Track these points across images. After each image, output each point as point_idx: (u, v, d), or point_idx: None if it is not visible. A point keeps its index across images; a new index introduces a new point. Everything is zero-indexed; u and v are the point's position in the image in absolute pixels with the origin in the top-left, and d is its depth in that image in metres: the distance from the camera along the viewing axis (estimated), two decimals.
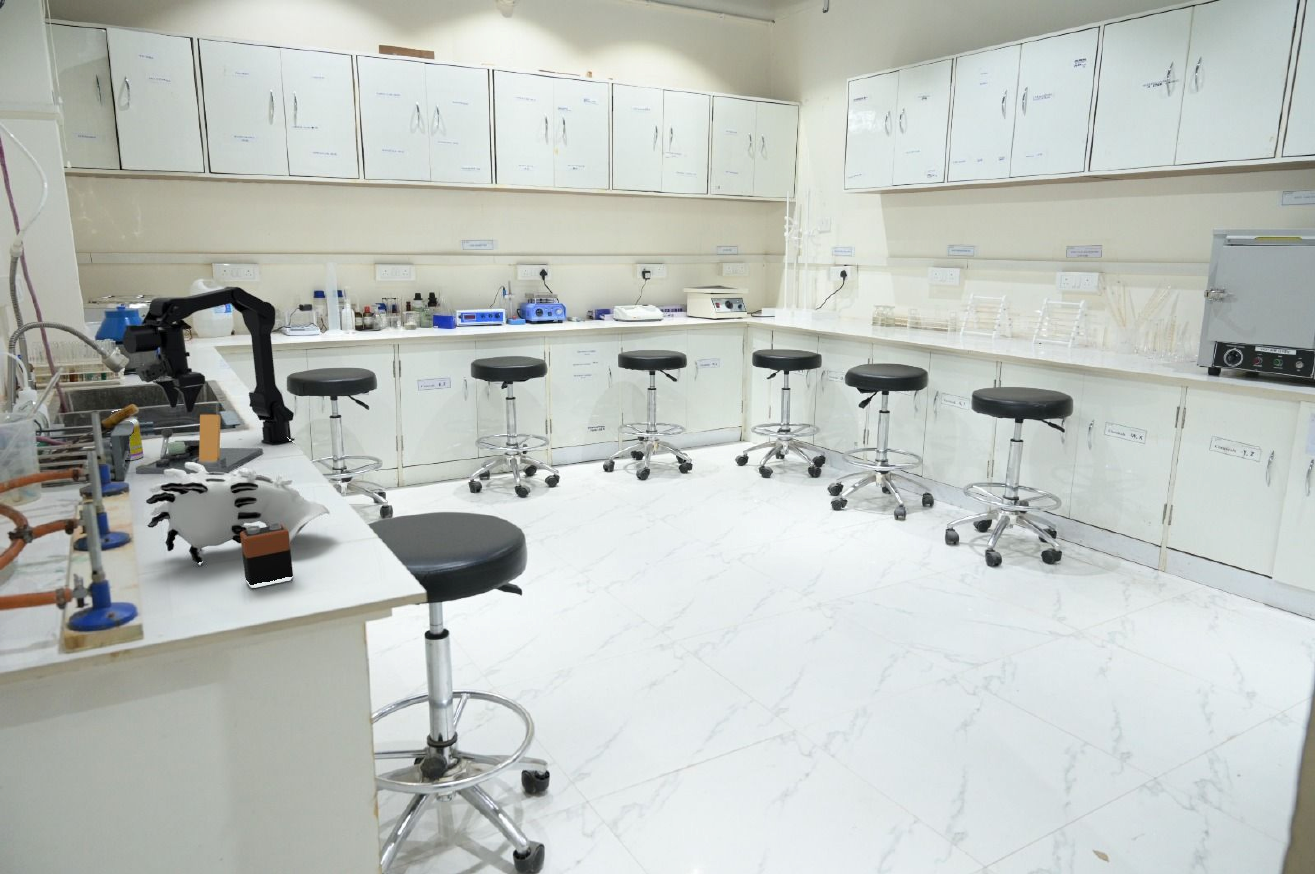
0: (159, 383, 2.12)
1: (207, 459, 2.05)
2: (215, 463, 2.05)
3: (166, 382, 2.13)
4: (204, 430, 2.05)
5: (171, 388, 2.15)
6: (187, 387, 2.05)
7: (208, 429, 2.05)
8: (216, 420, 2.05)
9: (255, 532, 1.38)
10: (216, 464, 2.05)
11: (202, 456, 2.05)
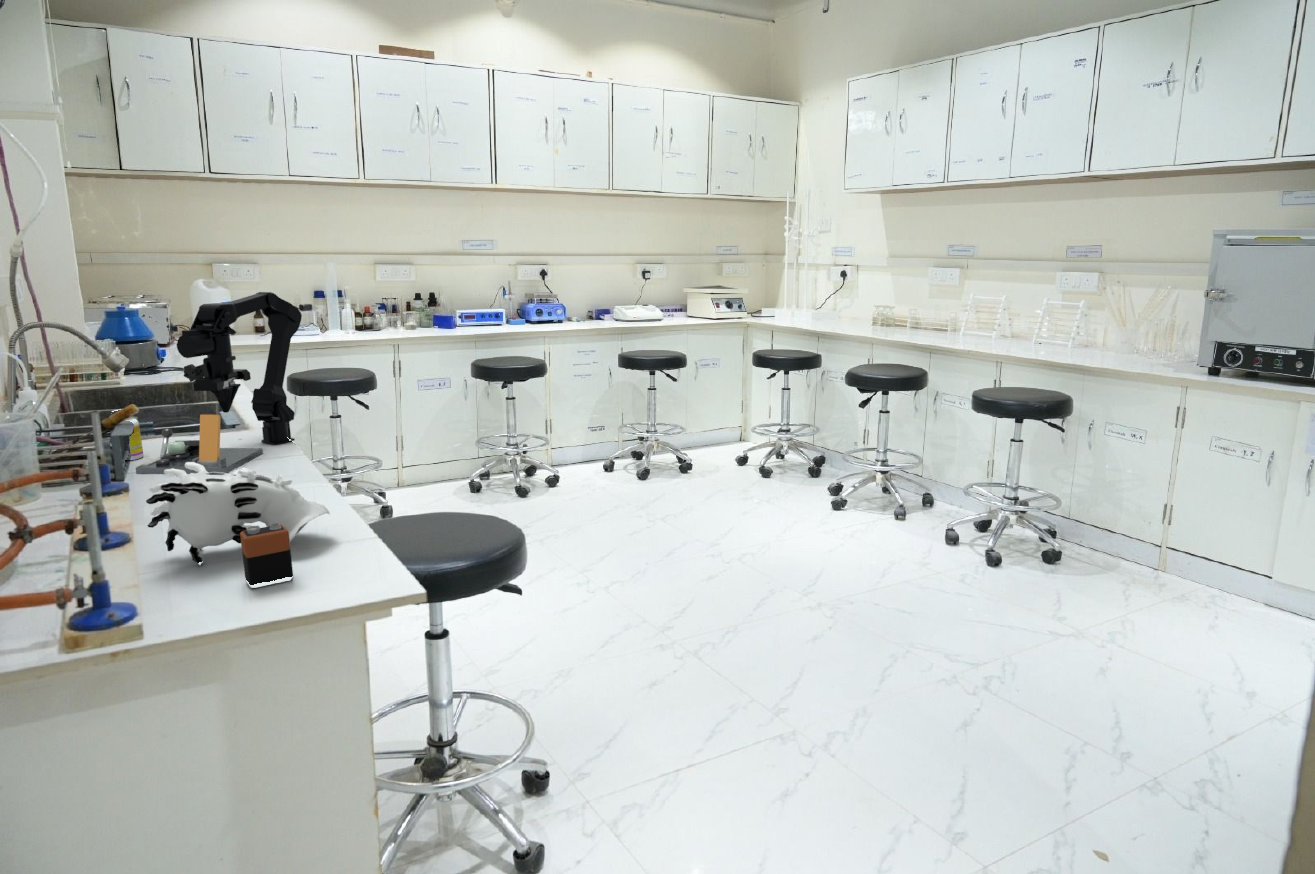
0: None
1: (207, 459, 2.05)
2: (215, 463, 2.05)
3: None
4: (204, 430, 2.05)
5: None
6: None
7: (208, 429, 2.05)
8: (216, 420, 2.05)
9: (255, 532, 1.38)
10: (216, 464, 2.05)
11: (202, 456, 2.05)
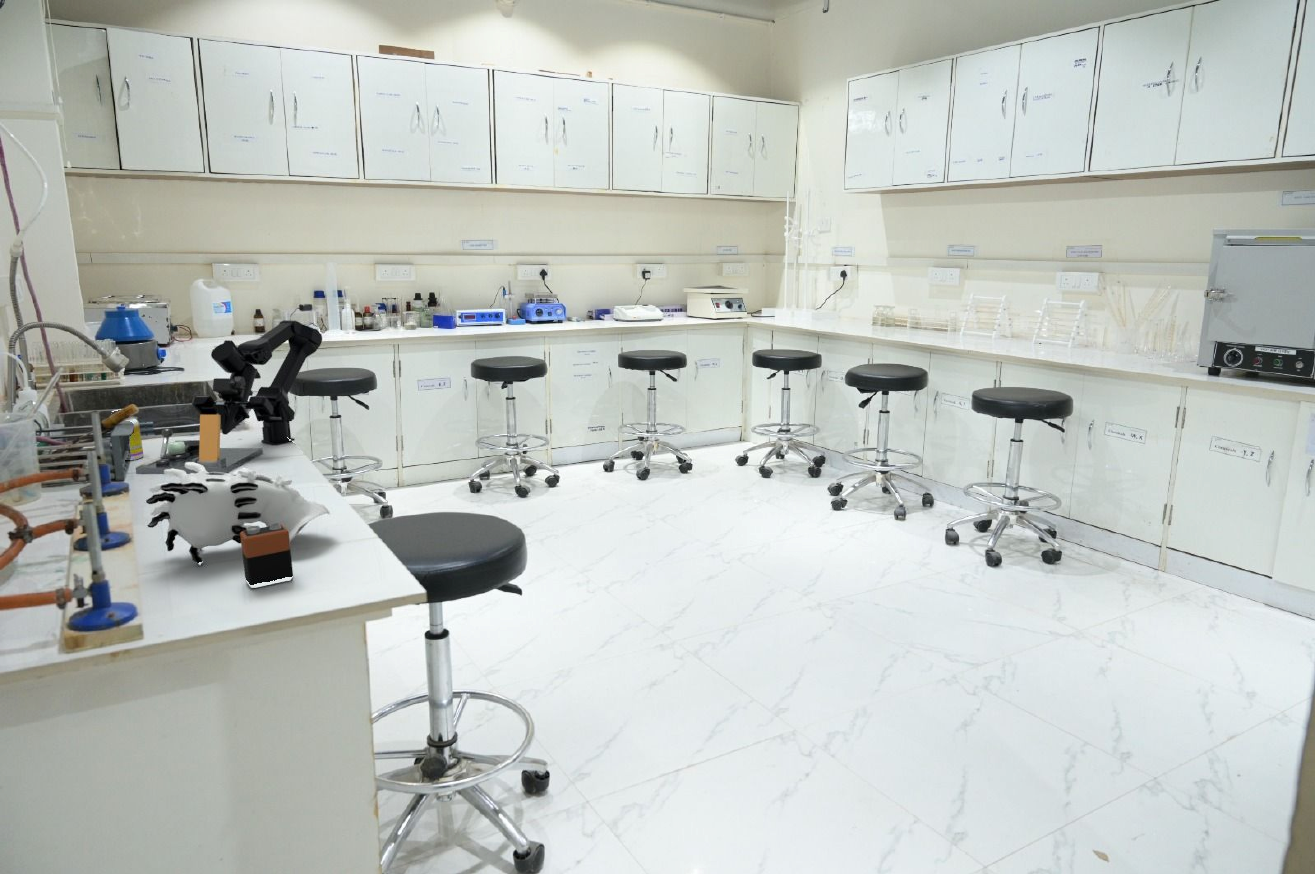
0: (224, 407, 2.14)
1: (207, 459, 2.05)
2: (215, 463, 2.05)
3: (227, 410, 2.16)
4: (204, 430, 2.05)
5: (227, 418, 2.15)
6: (243, 409, 2.15)
7: (208, 429, 2.05)
8: (216, 420, 2.05)
9: (255, 532, 1.38)
10: (216, 464, 2.05)
11: (202, 456, 2.05)
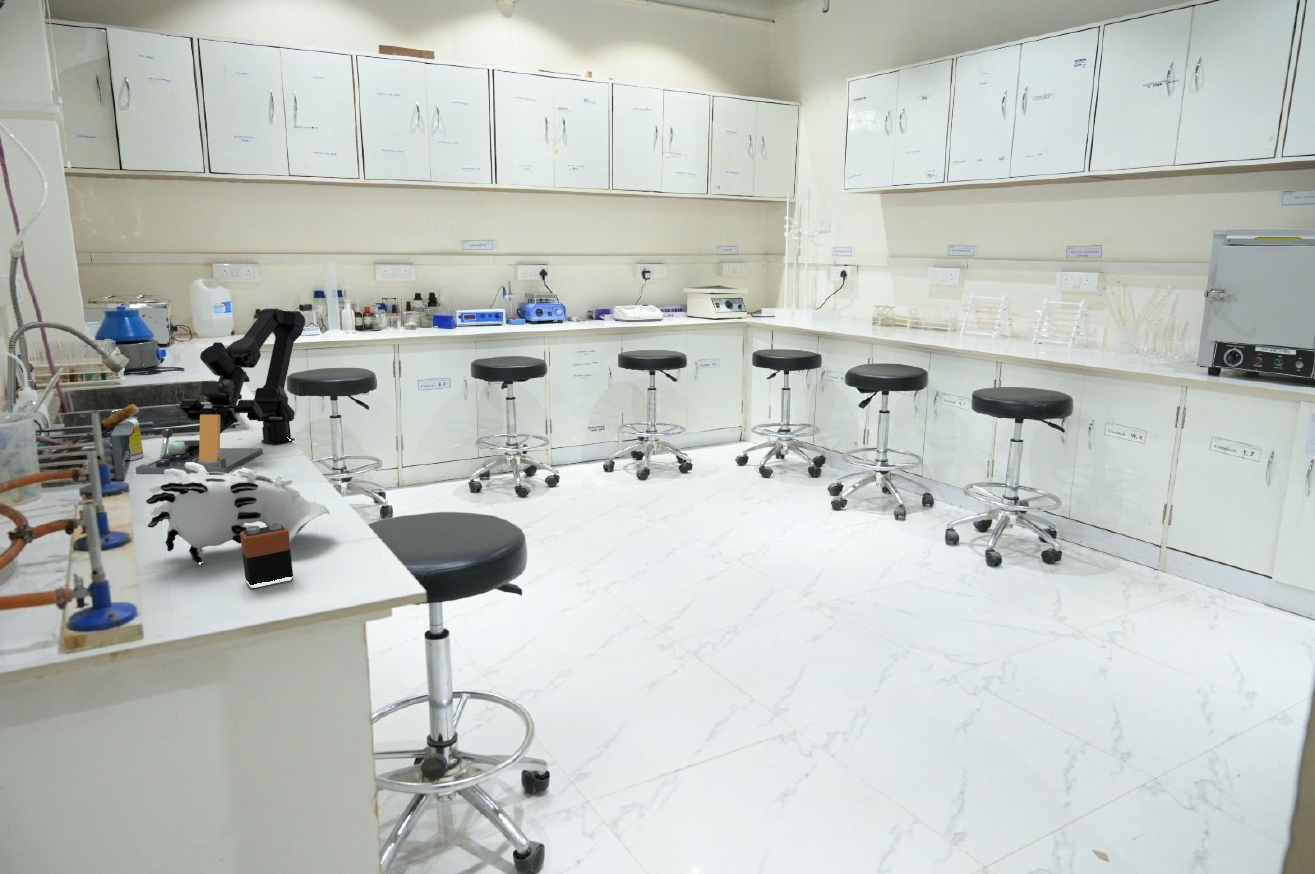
0: (212, 410, 2.08)
1: (207, 459, 2.05)
2: (215, 463, 2.05)
3: (215, 414, 2.10)
4: (204, 430, 2.05)
5: None
6: (232, 413, 2.10)
7: (208, 429, 2.05)
8: (216, 420, 2.05)
9: (255, 532, 1.38)
10: (216, 464, 2.05)
11: (202, 456, 2.05)
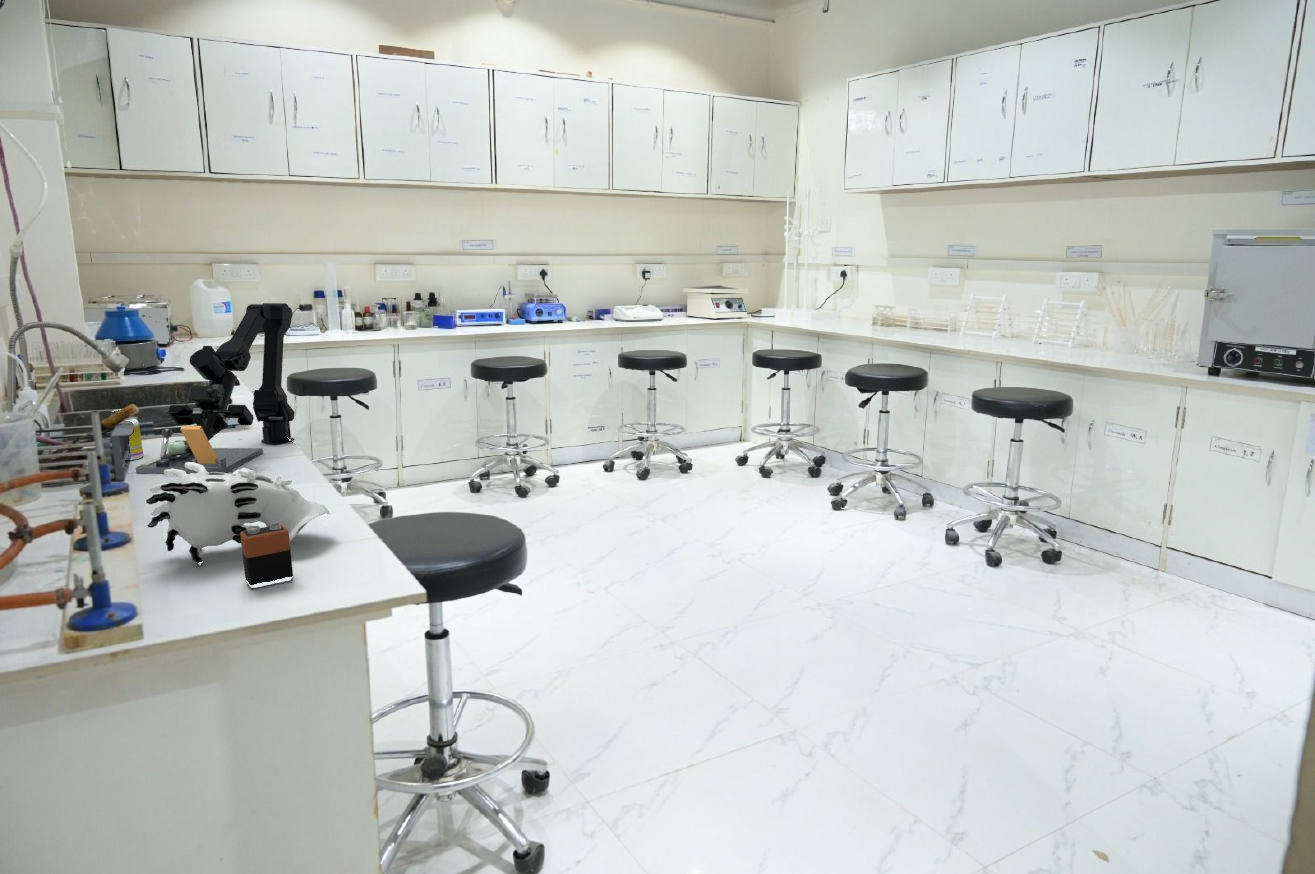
0: (201, 416, 2.03)
1: (206, 462, 2.04)
2: (215, 465, 2.05)
3: (205, 419, 2.05)
4: (191, 441, 2.00)
5: (204, 427, 2.05)
6: (222, 418, 2.05)
7: (195, 440, 1.99)
8: (200, 434, 1.98)
9: (255, 532, 1.38)
10: (217, 466, 2.05)
11: (200, 460, 2.04)
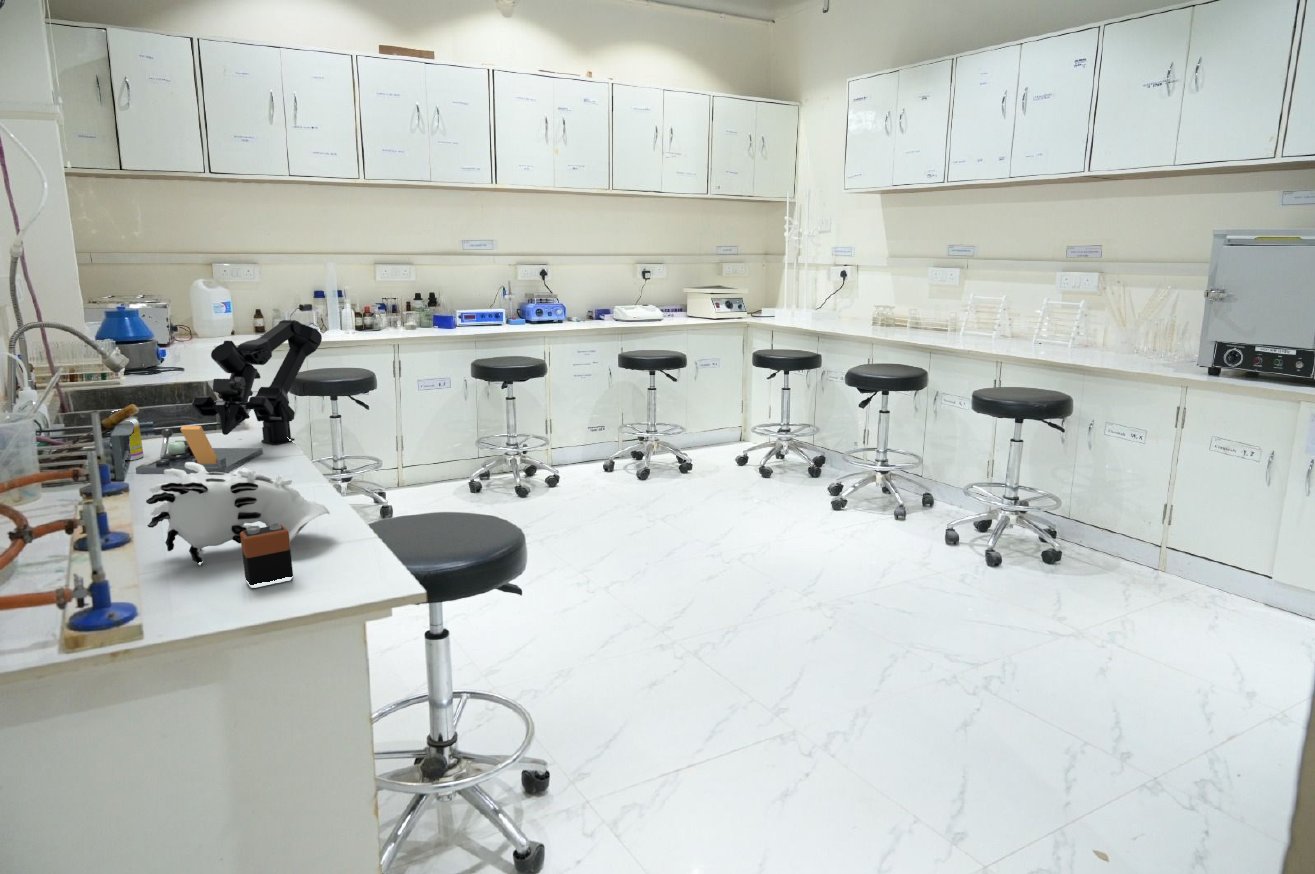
0: (224, 407, 2.14)
1: (206, 462, 2.04)
2: (215, 465, 2.05)
3: (227, 411, 2.16)
4: (191, 441, 2.00)
5: (227, 418, 2.15)
6: (243, 409, 2.15)
7: (195, 440, 1.99)
8: (200, 434, 1.98)
9: (255, 532, 1.38)
10: (217, 466, 2.05)
11: (200, 460, 2.04)
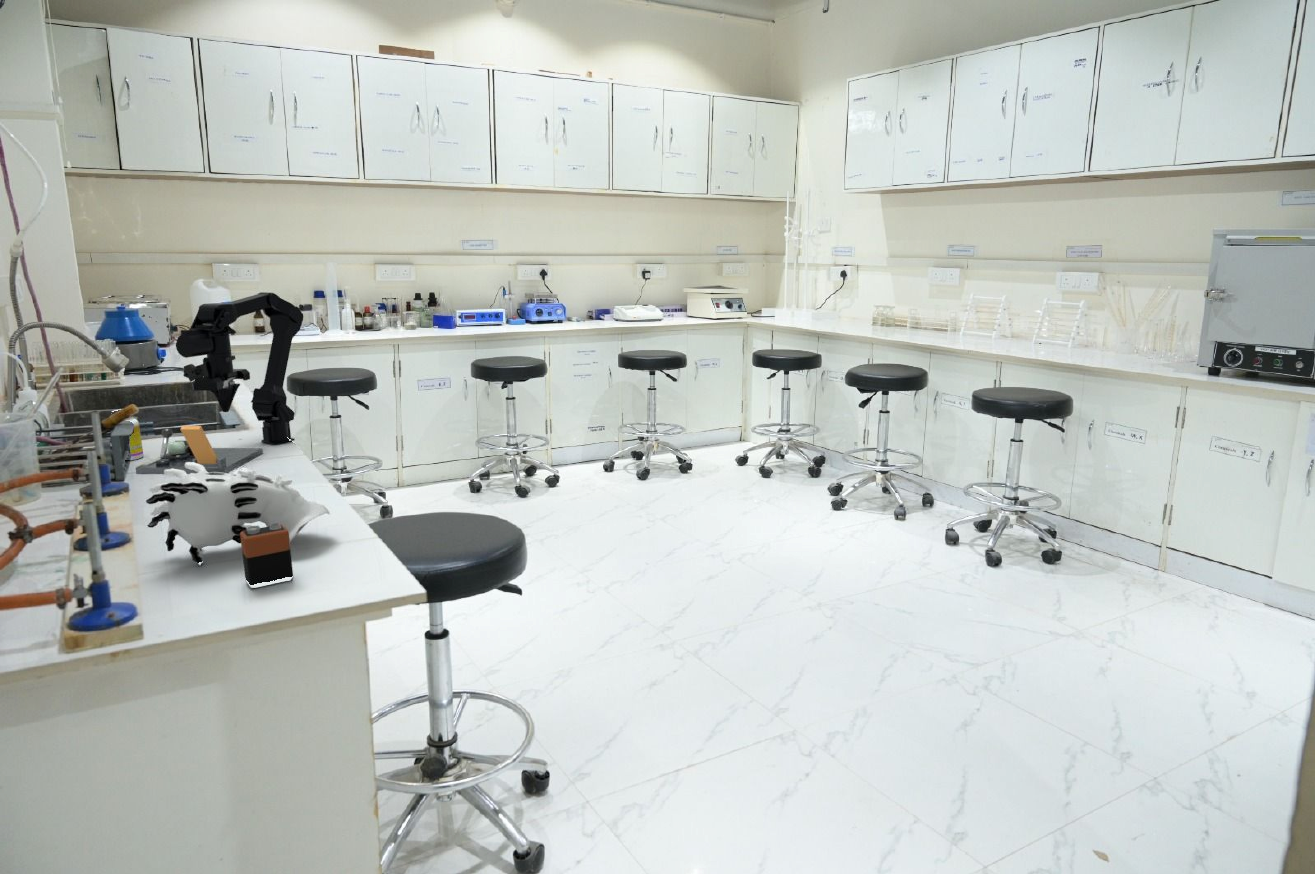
0: None
1: (206, 462, 2.04)
2: (215, 465, 2.05)
3: None
4: (191, 441, 2.00)
5: None
6: None
7: (195, 440, 1.99)
8: (200, 434, 1.98)
9: (255, 532, 1.38)
10: (217, 466, 2.05)
11: (200, 460, 2.04)
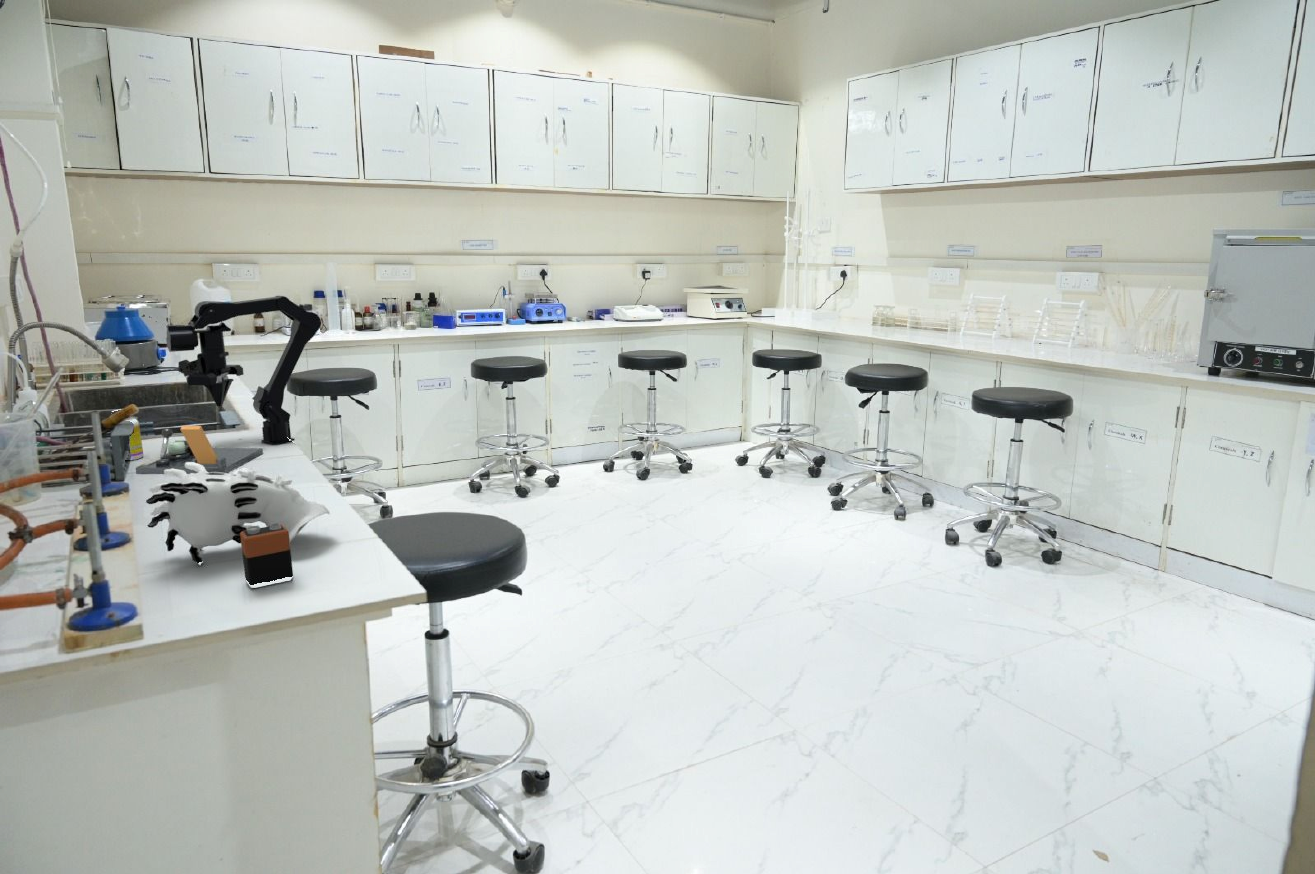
0: None
1: (206, 462, 2.04)
2: (215, 465, 2.05)
3: None
4: (191, 441, 2.00)
5: None
6: None
7: (195, 440, 1.99)
8: (200, 434, 1.98)
9: (255, 532, 1.38)
10: (217, 466, 2.05)
11: (200, 460, 2.04)
